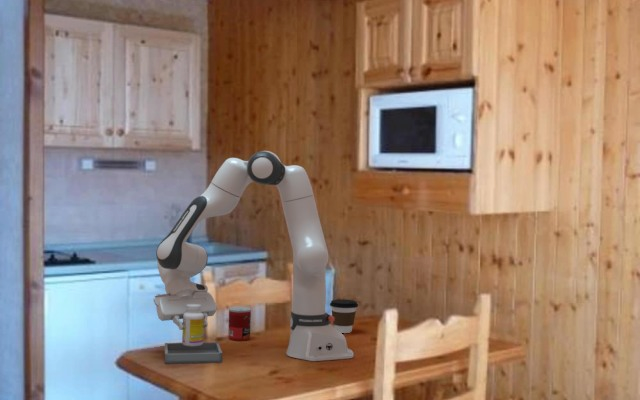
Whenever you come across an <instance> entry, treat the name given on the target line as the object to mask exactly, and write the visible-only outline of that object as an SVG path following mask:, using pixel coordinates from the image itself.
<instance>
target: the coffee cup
mask: <svg viewBox="0 0 640 400" xmlns="http://www.w3.org/2000/svg"><path fill="white" fill-rule="evenodd" d="M329 306H330V307H331V315H332V316H333V317H334V322H332V325H333V327H335V328H336V329H337V330H338V331H339V332H341V333H350V332H351V333H352V330H353V326H354V324H355V317H356V312H357V308H358V307H359V304H358V302H357V301H356V300H353V299H345V298H344V299H342V298H339V299H332V300H331V301H330V303H329ZM351 333H350V334H351Z"/></svg>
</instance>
